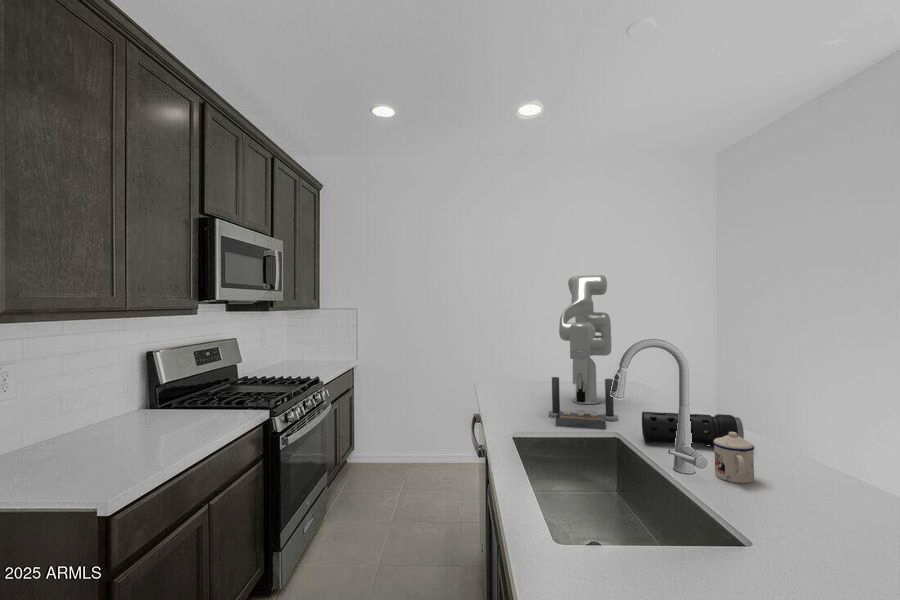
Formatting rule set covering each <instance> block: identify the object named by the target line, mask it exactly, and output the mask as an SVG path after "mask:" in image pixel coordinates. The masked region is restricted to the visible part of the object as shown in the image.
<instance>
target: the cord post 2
mask: <svg viewBox="0 0 900 600" xmlns="http://www.w3.org/2000/svg"><path fill="white" fill-rule="evenodd" d="M612 382H613V383H614V379H613V378H604V395H605V397H604V399H605V413H603V414H601V415H606V422H618V421H619V415H618V414H615V412H614V411H615V408H614V407H615V406H614V405H615V404H614V396H613V397H611V396H610V391H611V386H612Z"/></svg>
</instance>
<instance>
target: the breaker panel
mask: <svg viewBox="0 0 900 600" xmlns="http://www.w3.org/2000/svg"><path fill="white" fill-rule="evenodd" d="M562 412H564V413H562ZM562 412H558V414H557V416H556V418H554V419H555V427H565V428H566V427H567V428H580V429H595V430H606V429H607V427H606V426H607V425H606V422H607V421H606V415H602V414H598V411H596V410H595V411H590V413H585V411H584V410H577V413H576V412H571V409H564V411H562Z"/></svg>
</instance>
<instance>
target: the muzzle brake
mask: <svg viewBox="0 0 900 600" xmlns="http://www.w3.org/2000/svg"><path fill="white" fill-rule="evenodd" d="M689 414H690V421H691V433H692V442H693V443H692V444H694V445H695V444H696V445H710V446H714V444H713V442H714V440H715V439H716V438H720V437H724V436H726V435H729V434H728V433H729V432H736V433H737V434H738V437H741V438H743V439H744V440H745V438H744V437H745V435H744V434H745V432H744V427H743V425H744V424H743V423H742V420H741V418H740V417H738V416H733V415H732V414H721V413H720V414H719V413H717V414H715V415H713V416H712V415H710V414H705V413H704V414H699V413H689ZM677 423H678V412H657V411H655V412H654V411H642V412H641V430H642V438H643V440H644V441H645V443H654V444H655V443H657V444H672V445H675V444H674V443H675V438H676V431H677Z"/></svg>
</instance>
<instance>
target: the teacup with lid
mask: <svg viewBox="0 0 900 600" xmlns="http://www.w3.org/2000/svg"><path fill="white" fill-rule="evenodd" d="M728 434H729V435H726V436H724V437H720V438H716V439H715V440H714V442H713V444H714V447H713V448H714V449H713V450H714V474H715V476H716V477H717V478H718V479H720V478H721V480H722V481H725V480H727V481H726V482H729V481H730V483H734V482H735V483H734V484H751V483H753V482H754V481H755V463H754V462H755V461H754V458H755V457H754V450H755V446H754V444H753V442H751V441H748V440H747V439H745V438H744V439H743V438H741V437H738V434H737V433H736V432H729V433H728Z"/></svg>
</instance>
